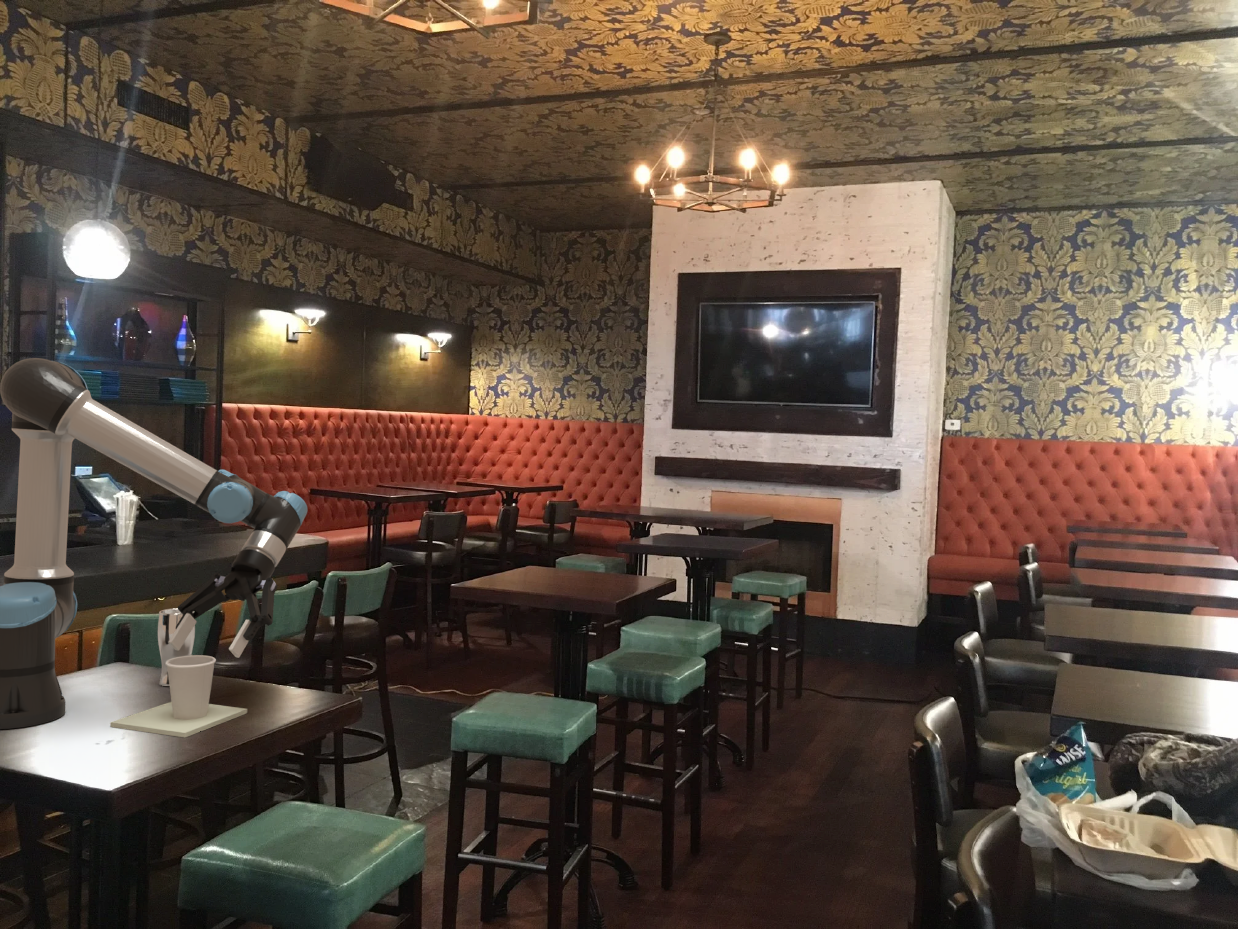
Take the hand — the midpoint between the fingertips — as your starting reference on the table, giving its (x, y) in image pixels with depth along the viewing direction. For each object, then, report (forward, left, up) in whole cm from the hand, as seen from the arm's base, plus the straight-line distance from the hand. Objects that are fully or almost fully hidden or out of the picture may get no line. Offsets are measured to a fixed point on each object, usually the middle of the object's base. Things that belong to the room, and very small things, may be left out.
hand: (203, 650), depth 182 cm
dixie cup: (+1, -4, -11) cm, 12 cm away
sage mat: (-1, -4, -12) cm, 13 cm away
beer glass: (-20, +16, -12) cm, 28 cm away
